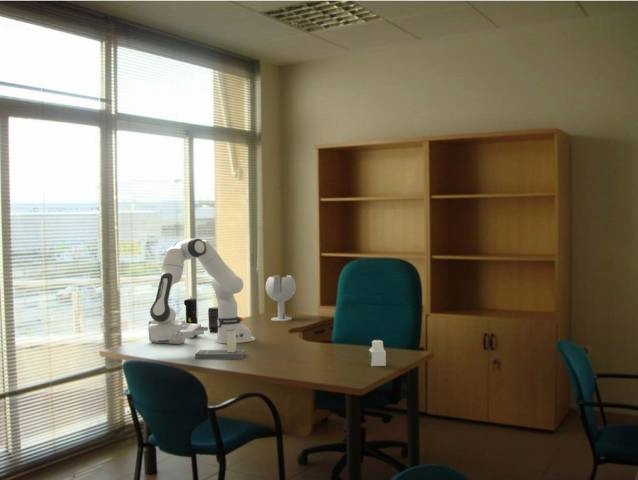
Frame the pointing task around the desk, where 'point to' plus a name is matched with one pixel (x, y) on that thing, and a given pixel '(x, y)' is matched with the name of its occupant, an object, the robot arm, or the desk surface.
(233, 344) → the fader knob
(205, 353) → the mixing console
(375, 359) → the medicine bottle
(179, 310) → the stereo radio cassette player
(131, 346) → the desk surface
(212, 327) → the camera lens
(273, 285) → the stemmed glass
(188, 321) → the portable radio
